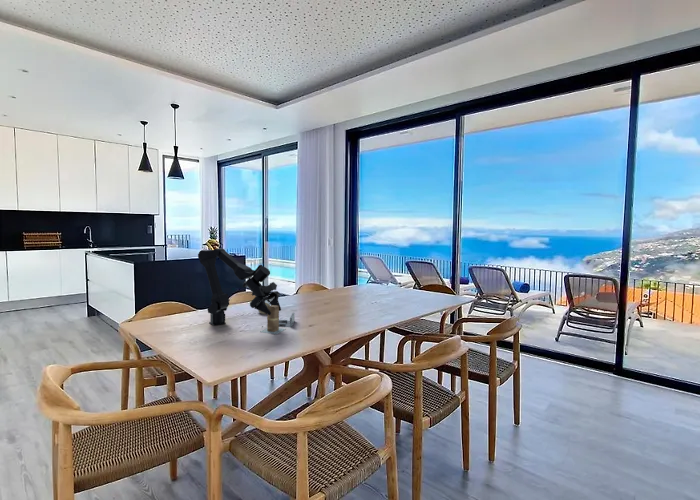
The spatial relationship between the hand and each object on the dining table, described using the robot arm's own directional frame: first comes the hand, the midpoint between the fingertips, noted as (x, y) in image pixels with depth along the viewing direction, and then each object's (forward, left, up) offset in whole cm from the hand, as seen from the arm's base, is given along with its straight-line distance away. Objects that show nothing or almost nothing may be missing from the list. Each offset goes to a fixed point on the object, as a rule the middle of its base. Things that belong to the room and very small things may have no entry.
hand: (275, 312), depth 180 cm
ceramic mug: (+16, +36, -10) cm, 41 cm away
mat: (-1, +1, -10) cm, 10 cm away
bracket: (+11, +8, -10) cm, 16 cm away
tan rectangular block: (-1, +1, -9) cm, 9 cm away
